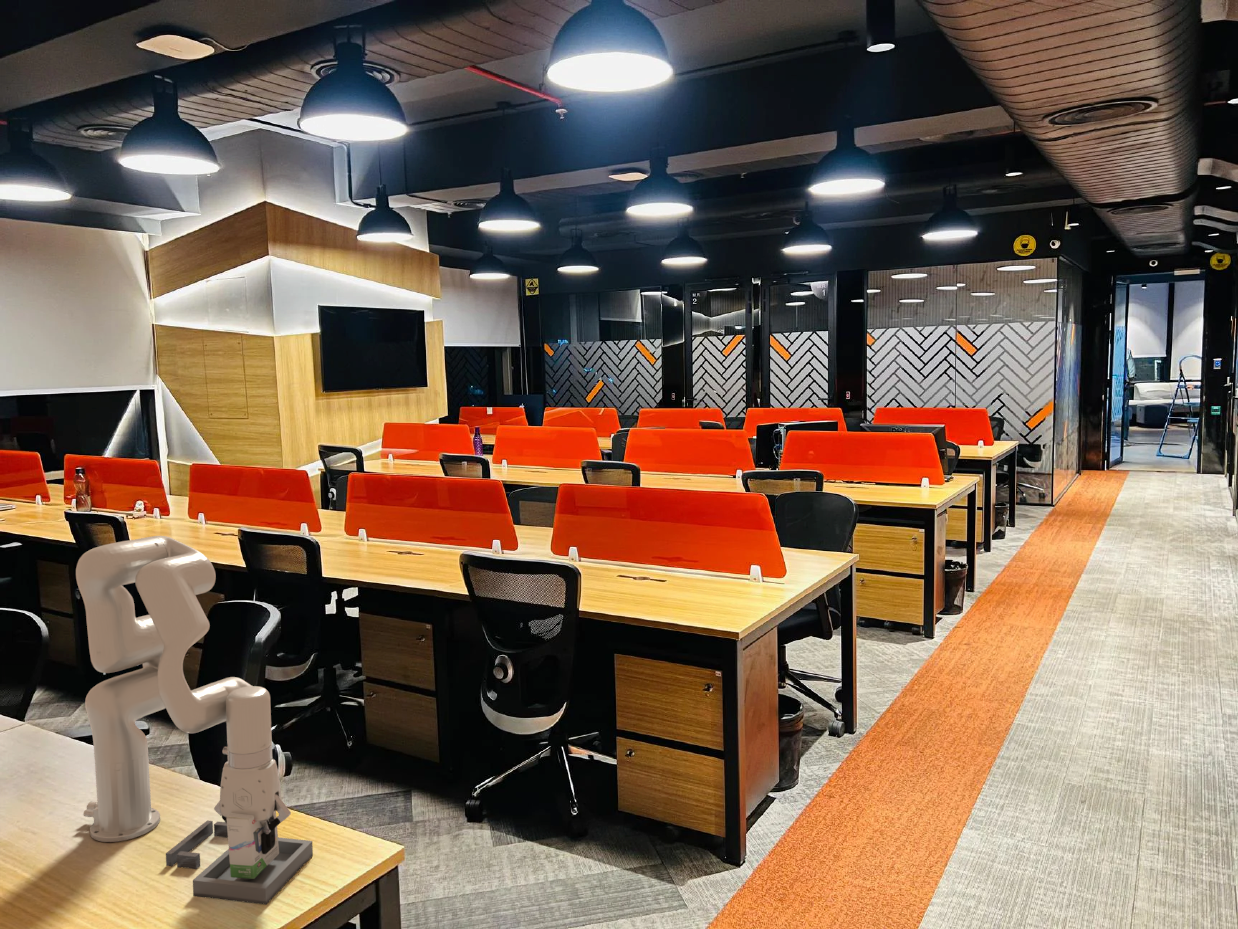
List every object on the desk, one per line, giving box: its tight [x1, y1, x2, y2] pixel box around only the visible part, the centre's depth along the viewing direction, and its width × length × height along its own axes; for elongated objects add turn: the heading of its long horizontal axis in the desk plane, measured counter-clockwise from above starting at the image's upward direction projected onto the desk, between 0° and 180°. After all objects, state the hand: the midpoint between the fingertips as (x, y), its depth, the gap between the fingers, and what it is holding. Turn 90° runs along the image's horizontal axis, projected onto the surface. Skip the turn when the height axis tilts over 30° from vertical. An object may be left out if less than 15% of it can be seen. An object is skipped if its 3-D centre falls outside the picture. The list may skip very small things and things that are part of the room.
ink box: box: [227, 811, 279, 879], centre depth 166 cm, size 9×5×12 cm, turn 169°
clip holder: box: [165, 820, 228, 870], centre depth 175 cm, size 6×13×2 cm, turn 170°
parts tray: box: [192, 836, 314, 906], centre depth 167 cm, size 14×16×3 cm
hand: (253, 847), depth 166 cm, fingers closed on ink box, 5 cm apart
